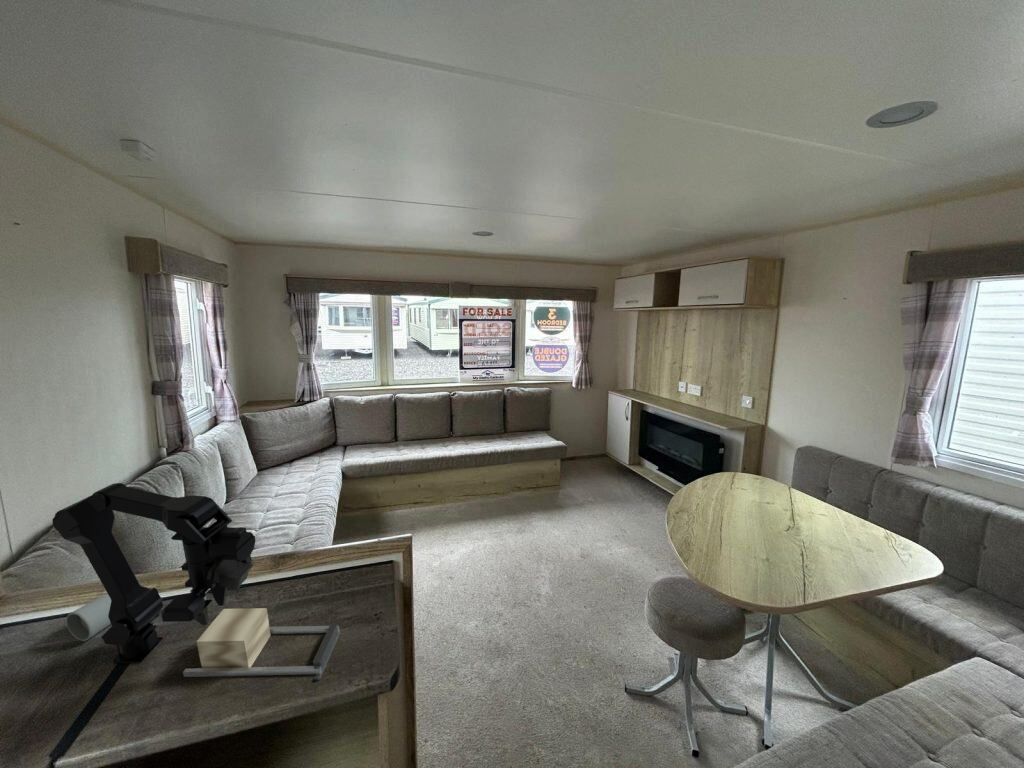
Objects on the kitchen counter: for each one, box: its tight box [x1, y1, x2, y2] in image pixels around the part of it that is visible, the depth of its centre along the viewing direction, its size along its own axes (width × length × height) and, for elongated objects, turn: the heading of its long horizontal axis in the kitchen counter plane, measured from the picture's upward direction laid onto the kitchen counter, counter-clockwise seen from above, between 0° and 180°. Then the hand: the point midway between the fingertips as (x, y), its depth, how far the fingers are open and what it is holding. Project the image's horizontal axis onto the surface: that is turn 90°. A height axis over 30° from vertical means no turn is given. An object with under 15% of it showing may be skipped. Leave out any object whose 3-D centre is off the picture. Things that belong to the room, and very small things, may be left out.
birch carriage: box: [196, 607, 272, 668], centre depth 92 cm, size 10×9×8 cm
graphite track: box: [182, 623, 341, 681], centre depth 93 cm, size 29×12×4 cm, turn 93°
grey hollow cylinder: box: [65, 593, 111, 642], centre depth 100 cm, size 11×8×8 cm
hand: (213, 614), depth 91 cm, fingers open, 5 cm apart
